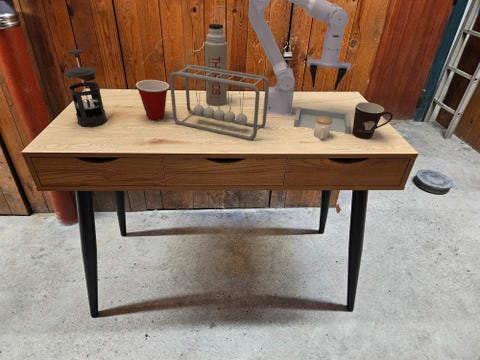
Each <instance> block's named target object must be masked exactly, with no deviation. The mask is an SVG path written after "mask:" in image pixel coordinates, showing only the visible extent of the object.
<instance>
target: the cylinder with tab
mask: <svg viewBox="0 0 480 360" xmlns="http://www.w3.org/2000/svg"><path fill="white" fill-rule="evenodd" d="M332 121H333V119H332V118H330V117H327V116H318V117H316V125H315V129H314V132H313V137H315V138H316V139H321V140H325V139H328V138H329V135H330V132H331V131H330V127H331V123H332Z"/></svg>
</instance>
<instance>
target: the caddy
mask: <svg viewBox="0 0 480 360" xmlns="http://www.w3.org/2000/svg"><path fill="white" fill-rule="evenodd" d="M318 116H327V117H330V118H332V119H333V121H332V123H331V127H330V132H336V133H344V134H345V135H346V134H347V135H349V134H350V132H351V119H350V112H343V111H341V112H340V111H336V110H335V111H333V110H325V109H317V108H309V107H303V106H297V108H296V113H295V118H294V122H293V127H294V128H298V127H301V128H307V129H308V128H309V129H314V130H315V125H316V117H318Z"/></svg>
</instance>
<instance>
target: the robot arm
mask: <svg viewBox="0 0 480 360" xmlns="http://www.w3.org/2000/svg"><path fill="white" fill-rule="evenodd" d="M286 1H288V2H290V3H293V4H295V5H296V6H299V7H301V8H304V9H305V12H306V14H307V16H308V17H311V18H313V19H316V20H317V21H319V22H321V23H324V24H327V26H326V32H325V34H324V35H325V36H324V39H323V46H322V50H321V51H322V52H321V58H319V59H318V58H317V59H316V58H308V59H307V63H306V64H307V65H306V66H307V67H309V72H310V76H311V80H312V81H311V83H312V85H311V86H312V89H313V88H315V85H316V77H317V70H318V67H320V68H329V69H337V73H336V74H337V75H336V79H335V83H334V87H333V91H336V90H337V89H338V86H339V84H340V83H341V80H342V79H343V78H344V77H345V75H346V73H347V71H350V70H351V66H352V63H351V62H345V61H341V60H340V61H339V59H340V54H341V53H340V52H341V49H342V44H343V40H344V39H343V38H344V36H345V35H344V34H345V33H344V32H345V27H347V25H348V24H349V21H350V20H349V14H348V12H347V11H346V9H344V8H342V7H341V6H339V5H338V4H337V2H334V3H332V2H330V1H327V0H286ZM270 2H271V0H249V3H248V14H247V15H248V16H247V17H248V20H249V22H250V25H251V27H252V29H253V31H254V32H255V35H256V37H257V38H258V40H259V43H260V45H261V47H262V49H263V51H264V53H265V55H266V57H267V59H268V61H269V63H270V65H271V67H272V71H273V74H274V75H275V77H276V83H275V84H274V86H269V93H268V104H267V114H272V115H278V116H279V115H280V116H286V117H291V116H292V114H293V110H294V107H293V101H294V100H293V99H294V93H295V84H296V78H295V76H294V71H293V69H292V68H291V67H290V66H289V65H288V64H287V62H286V60H285V59H284V56H283V55H282V52H281V50H280V48H279V46H278V44H277V41H276V40H275V38H274V35H273V33H272V31H271V28H270V26H269V25H268V22H267V20H266V18H265V16H264V15H265V13H266V12H265V11H266V9H267V6H268V4H269V3H270Z"/></svg>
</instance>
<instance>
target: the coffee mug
mask: <svg viewBox="0 0 480 360" xmlns="http://www.w3.org/2000/svg"><path fill="white" fill-rule="evenodd" d="M354 109H355V110H354V116H353V124H352V132H351V134H352V136H353V137H355V138H357V139H360V140H370V139H372V138H373V136H374V133H375V131H376V130H377V129H378V128H381V127H383V126H385V125H387V124H388V123H390V122H391V121H392V120H393V113H392V112H390V111H385V108H384V107H383V106H381V105H380V104H377V103H373V102H368V101H367V102H365V101H364V102H363V101H362V102H358V103H356V104H355V108H354ZM386 114H387V115H390V118H389V119H388V120H386V122H384V123H381V124H379V122H380V120H381V117H382V116H384V115H386ZM378 124H379V125H378ZM371 137H372V138H371Z"/></svg>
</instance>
